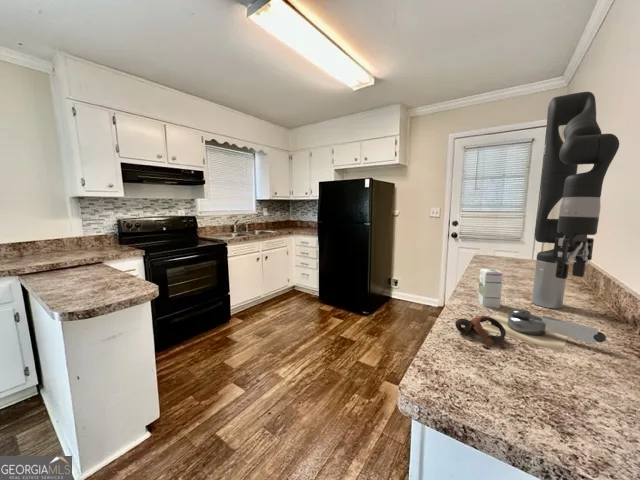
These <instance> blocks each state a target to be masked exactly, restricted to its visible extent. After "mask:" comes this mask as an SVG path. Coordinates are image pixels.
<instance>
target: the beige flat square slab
mask: <svg viewBox="0 0 640 480" xmlns="http://www.w3.org/2000/svg"><path fill="white" fill-rule="evenodd" d="M508 316H509V314H506V313H503V312H498V313H497V314H496V315H495V316H494V317H492V318H493V319H495V320H497V321H498V322H499V323H500V324H501V325H502V326H503V327H504V329H505V331H506V335H505V337H509V338H513V339H515V340H516V339H517V340H520V341H523V342H526V343H529V344H533V345H536V346H539V347H542V348H546V349H548V350H553V351H556V352H559V353H564V349H565V347H566V344H567V341H568V338H569V337H567V336H563V335H560V334H556V333H552V332H548V331H546V334H545V335H541V336H535V335H528V334H524V333H521V332H518V331H515V330H513V329H511V328H510V327H509V326H508ZM482 327H483V329H484V330H486V331H489V332H493V333H496V334H499V335H501V332H500V330H499V328H497V327H495V326H493V325H491V322H489V321H488V322H487V323H486V324H485V325H484V326H482Z"/></svg>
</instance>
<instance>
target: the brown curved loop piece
mask: <svg viewBox="0 0 640 480" xmlns="http://www.w3.org/2000/svg"><path fill="white" fill-rule="evenodd" d="M493 318H494V317H491V316H486V315H480V316H479V317H474V318H472V319H470V320H469V319H466V318H458V319H456V321H454V322H455V328H456V329H457V331H458V332H459V333H461V334H462V335H463V336H468V334H469V332H470V331H472V330H474V331H475V332H476V333H477V334H478V335H479V336H480V337H481V338H482V339H483V340H485V341H484V344H483V345H482V348H483V349H485V350H487V351H488V350H491V349H492V347H493V346H497V347H498V346H501V345H502V344H504V341H505V337H506V331H505V329H504V327H503V326H502V325H501V324H500V323H499V322H498V321H497V320H495V319H493ZM487 321H488V322H491V325H493V326H495V327H497V328H499V330H500V332H501V334H499V335H492V338H491V337H489V335H490V333H489V332H488V330H486V329H483V327H484V326H482V323H485V322H487ZM463 326H464V327H463ZM490 346H492V347H490Z"/></svg>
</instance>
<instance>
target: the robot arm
mask: <svg viewBox="0 0 640 480" xmlns="http://www.w3.org/2000/svg"><path fill="white" fill-rule="evenodd" d="M547 107H548V108H547V115H546V133H545V134H546V136H545V151H544V158H543V164H542V171H541V172H542V173H541V178H540V181H541V182H540V193H539V194H540V195H539V196H540V197H539V204H538V210H537V216H536V222H535V228H534V240H535V241H536V242H538V243H545V244H554V245H553V249H549V250H541V251H538V252H537V254H536V260H535V261H536V262H535V269H534V270H535V271H534V277H533V279H534V280H533V285H532V287H533V288H532V293H531V294H532V295H531V303H532V304H534V305H535V306H540V307H544V308H548V309H556V310H557V309H562V308H563V306H564V305H563V304H564V299H565V291H566V282H567V278H568V276H569V269H570V263H571V261H572V259H573V261H574V262H573V265H572V266H573V267H572V276H575V277H578V278H582V277H584V276H585V271H586V265H587V263H588V262H589V261H592V259H593V258H592V257H593V250H594V241H595V239H594V238H593V237H588V236H595V235H597V233H598V226H599V222H600V221H599V220H600V212H601V196H602V190H603V183H604V179H605V178H606V177H605V176H606V174H607V172H608V169H609V167H610V166H611V163H612V162H613V160H614V158H615V157H616V154H617V152H618V150H619V148H620V140H619V138H618V137H617V136H616V135H615V134H613V133H602V129H601V128H600V126H599V124H598V121H597V102H596V97H595V94H594V93H593V92H592V91H581V92H580V91H579V92H574V93H570V94H566V95H565V94H564V95H559V96H555V97H553V98H552V99H551V100H550V101H549V104H548V106H547ZM560 126H561V127H562V126H565V127H564V129H563V138H564V140H562V137H561V134H560ZM579 165H581V166H582V165H593V167H592V168H591V169H590V170H587V171H585V172H581V173H578V167H579ZM560 201H561V202H560ZM559 202H560V203H561V204H560V206H559V214H558V218H548V217H549V215H550V213H551V212H552V210H553V209H554V207H555V206H556V205H557V204H558V203H559Z"/></svg>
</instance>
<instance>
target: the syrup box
mask: <svg viewBox="0 0 640 480" xmlns="http://www.w3.org/2000/svg"><path fill="white" fill-rule="evenodd" d="M503 274H504V273H503V272H502V271H499V270H497V269H496V268H480V269H479V280H478V282H479V283H478V293H477V294H478V295H477V303H479V304H480V305H481V306H482V307H484V308H496V309H500V308H501V298H502V285H503Z"/></svg>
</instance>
